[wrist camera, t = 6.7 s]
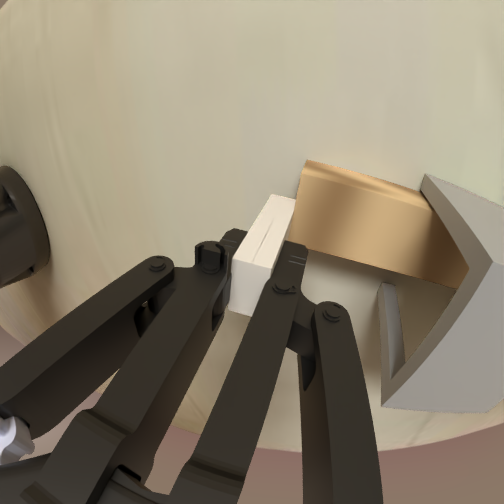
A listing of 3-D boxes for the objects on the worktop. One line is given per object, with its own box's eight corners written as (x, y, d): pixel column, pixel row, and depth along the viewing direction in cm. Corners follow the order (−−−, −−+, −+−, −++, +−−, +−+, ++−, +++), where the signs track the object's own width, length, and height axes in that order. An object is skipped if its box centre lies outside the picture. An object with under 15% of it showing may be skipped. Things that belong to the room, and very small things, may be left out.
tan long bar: (295, 219, 18) (287, 243, 15) (307, 159, 15) (300, 173, 13) (493, 277, 15) (507, 303, 13) (517, 232, 13) (536, 255, 10)
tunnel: (377, 292, 19) (380, 406, 11) (425, 173, 13) (493, 261, 6) (461, 313, 17) (486, 413, 10) (516, 214, 12) (586, 302, 5)
